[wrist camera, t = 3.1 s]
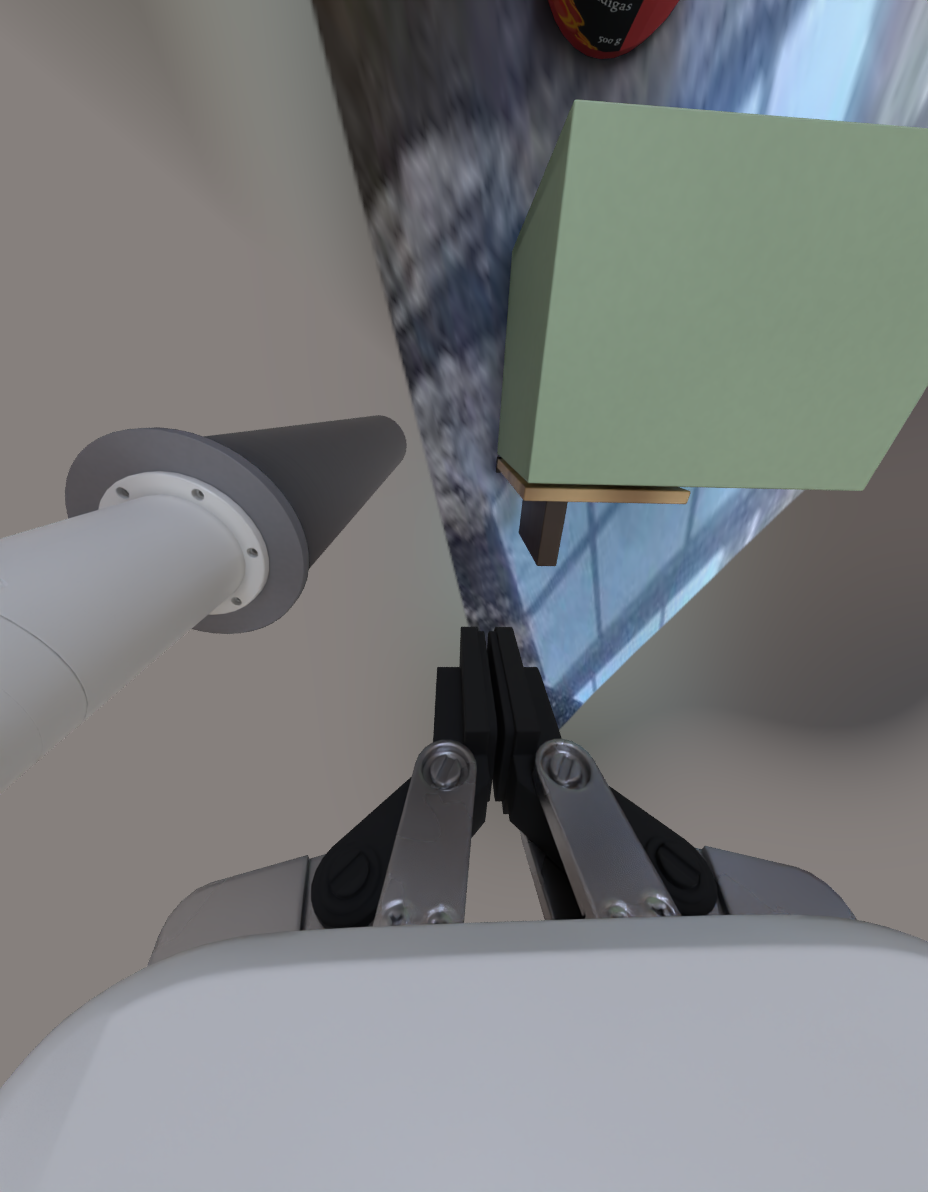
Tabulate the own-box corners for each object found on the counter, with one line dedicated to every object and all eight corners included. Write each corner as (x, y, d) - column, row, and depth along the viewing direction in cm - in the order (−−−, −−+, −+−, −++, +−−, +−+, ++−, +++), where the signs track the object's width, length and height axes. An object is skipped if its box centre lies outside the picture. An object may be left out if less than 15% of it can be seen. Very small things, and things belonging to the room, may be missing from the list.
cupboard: (495, 471, 28) (524, 511, 17) (512, 250, 21) (574, 97, 11) (702, 477, 29) (847, 517, 18) (780, 265, 22) (1080, 138, 12)
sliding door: (493, 516, 29) (515, 569, 20) (497, 458, 27) (525, 487, 17) (593, 517, 30) (662, 571, 20) (606, 461, 27) (691, 491, 18)
